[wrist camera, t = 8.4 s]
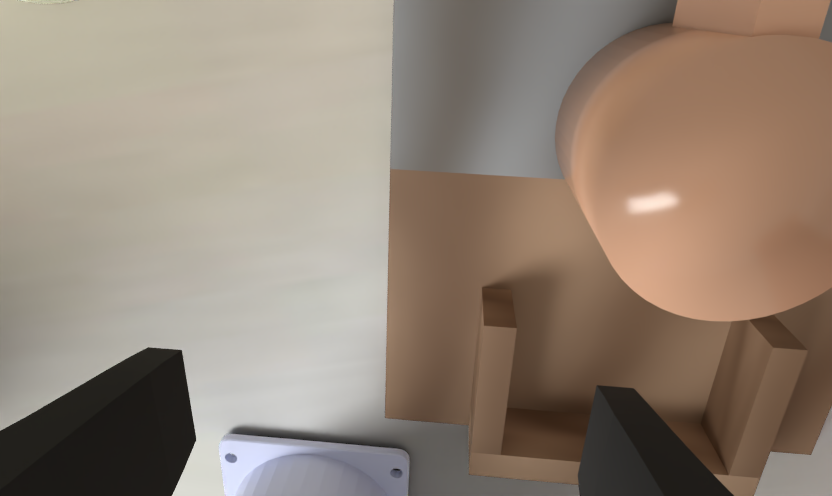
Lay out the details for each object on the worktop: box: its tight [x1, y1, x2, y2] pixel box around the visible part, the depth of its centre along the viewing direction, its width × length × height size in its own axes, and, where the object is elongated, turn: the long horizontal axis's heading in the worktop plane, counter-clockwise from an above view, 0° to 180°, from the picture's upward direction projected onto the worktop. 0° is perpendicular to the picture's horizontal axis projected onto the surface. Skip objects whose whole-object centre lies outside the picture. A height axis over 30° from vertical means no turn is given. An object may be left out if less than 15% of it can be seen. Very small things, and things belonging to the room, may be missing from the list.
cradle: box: [385, 0, 832, 496], centre depth 17 cm, size 16×20×3 cm
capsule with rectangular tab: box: [555, 0, 832, 322], centre depth 14 cm, size 6×9×6 cm, turn 178°
